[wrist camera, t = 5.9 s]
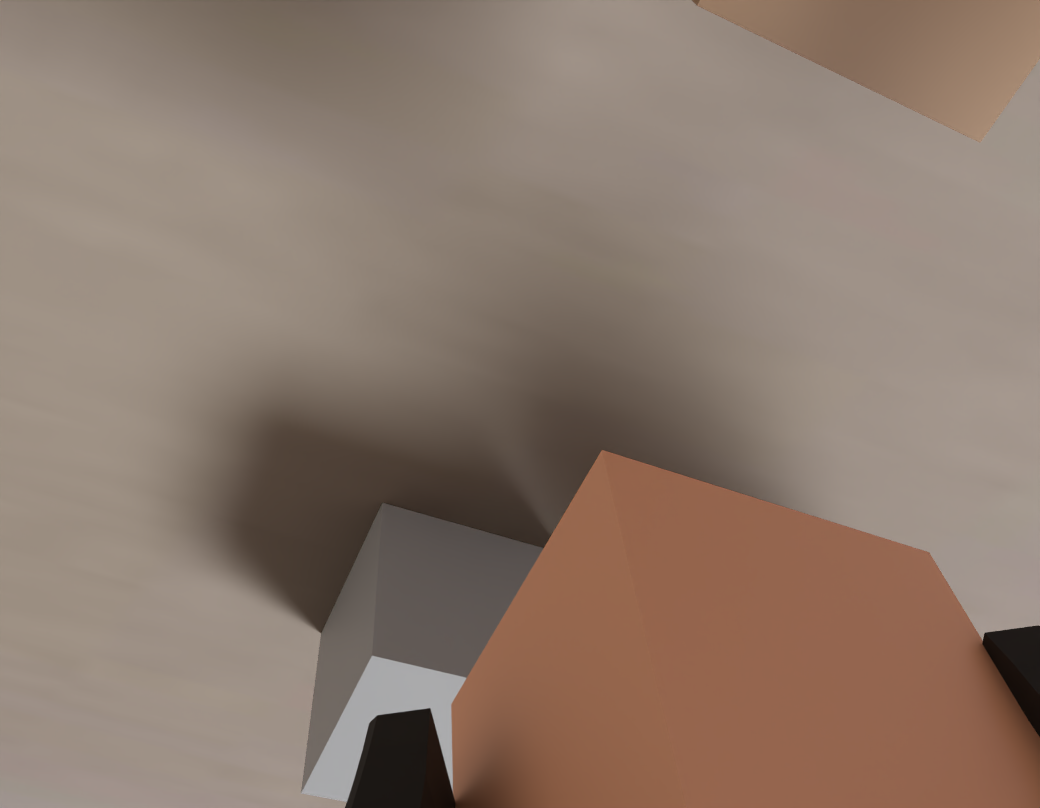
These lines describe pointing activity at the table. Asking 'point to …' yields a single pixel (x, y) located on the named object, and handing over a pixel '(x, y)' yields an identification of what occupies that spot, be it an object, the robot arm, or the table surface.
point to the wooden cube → (909, 48)
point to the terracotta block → (733, 666)
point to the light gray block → (406, 634)
